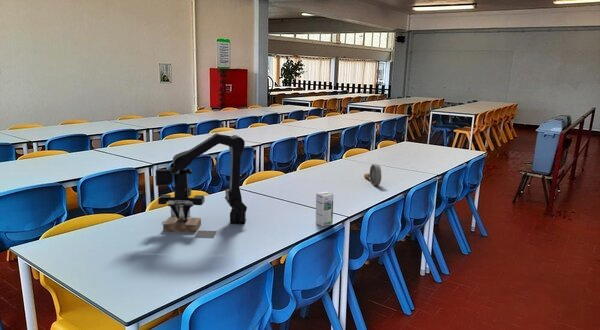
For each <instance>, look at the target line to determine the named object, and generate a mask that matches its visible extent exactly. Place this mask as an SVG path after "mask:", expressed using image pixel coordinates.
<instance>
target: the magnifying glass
mask: <svg viewBox="0 0 600 330" xmlns="http://www.w3.org/2000/svg"><path fill="white" fill-rule="evenodd" d="M363 177H364V178H365V179H369V181H370V184H371V185H372V186H379V185H380V184H381V182H382V169H381V166H380V164H378V163H377V164H375V163H372V164H371V166H370V168H369V173H365V174H364V175H363Z"/></svg>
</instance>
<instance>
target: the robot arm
mask: <svg viewBox="0 0 600 330" xmlns="http://www.w3.org/2000/svg"><path fill="white" fill-rule="evenodd" d="M245 143H246V142H245V140H244V139H243V138H242V137H240V136H239V135H236V134H232V135H227V134H221V133H218V132H217V133H214V134H213V135H212V136H210V137H208V138H206V139H205V140H204V141H201V142H200V143H198V144H197V145H195V146H194V147H192V148H191V149H188V150H185V151H181V152H179V153H176V154H174V156H173V157H172V162H171V164H169V166H168V167H167V168H165V169H164V168H163V169H159V168H158V169H155V176H154V180H155V187H162V186H170V185H171V184H172V183H173V193H174V196H171V194H161V195H160V196H159V197H158V199H157V204H158V205H166V204H167V203H168V205H167V206H168V207H170V209H171V208H172V210H173V211H174V213H175V215H176V217H177V219H179V215H178V206H177V203H178V202H187V204H186V205H185V219H187V217H188V214H189V210H190V211H191V208H192V207H194V206H202V205H203V204H204V203H205V201H206V200H205V196H204V195H203V194H202V195H199V194H198V195H194V196H193V197H191V196H192V188H191V187H189V186H190V185H189V178H188V177H189V175H191V174H193V171H192V169H190V168H189V166H190V165H191V164H192V163H193V162H194V161H195V160H196V159H197V158H198V157H200V156H201V155H203V154H205V153H206V152H208V151H210V150H211V149H213V148H214V147H216V146H217V145H219V144H220V145H224V146H227V147H228V149H229V153H230V171H229V172H230V173H229V175H230V176H229V187H228V189H225V190H224V191H225V196H224V199H225V201H226V203H227V204H228V205H229V207H230V208H231V209H230V213H229V222H230V225H246V223H247V218H246V217H247V216H246V215H247V209H248V206H247V205H246V204H245V203H244V202H243V199H242V197H243V196H242V193H241V189H240V182H241V181H240V180H241V164H242V163H241V161H242V159H241V158H242V155H243V153H244V150H245V146H246V144H245Z"/></svg>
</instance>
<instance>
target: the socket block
mask: <svg viewBox="0 0 600 330" xmlns="http://www.w3.org/2000/svg"><path fill="white" fill-rule="evenodd" d="M201 226H202V218H201V217H190V216H189V217H187V219H186V223H179V219H177V217H171V216H169V217H167V219H166V220H165V221H164V223H163V224H162V230H163V231H162V232H172V233H173V232H174V233H176V232H177V233H197V232H198V230H200V227H201Z"/></svg>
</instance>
